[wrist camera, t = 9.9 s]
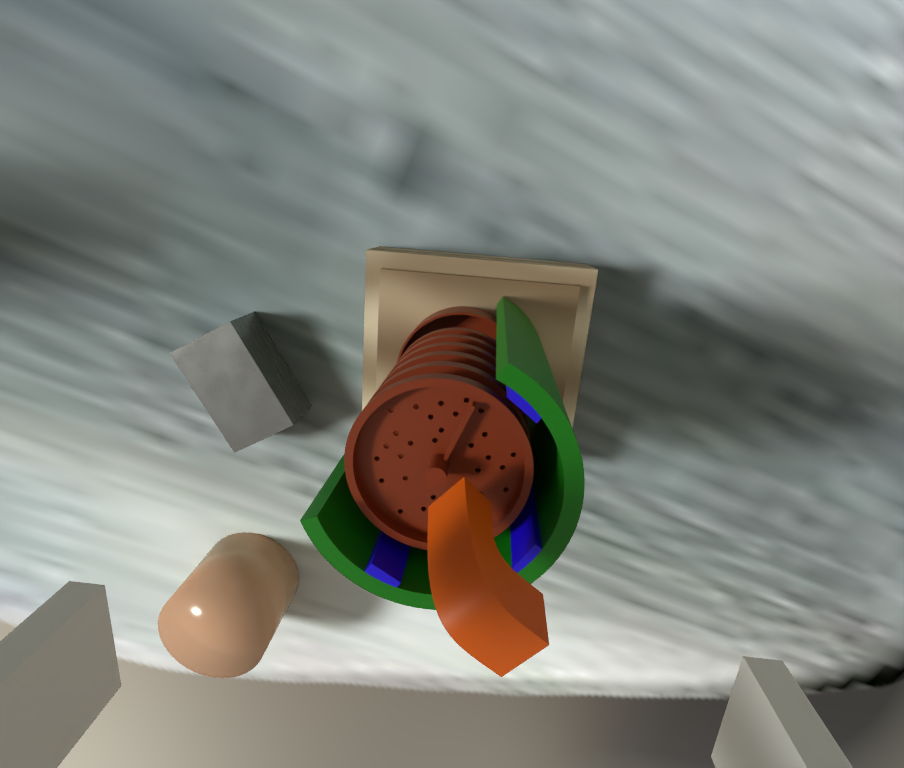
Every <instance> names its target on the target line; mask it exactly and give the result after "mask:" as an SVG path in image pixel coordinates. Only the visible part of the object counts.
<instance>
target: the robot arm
mask: <svg viewBox="0 0 904 768" xmlns="http://www.w3.org/2000/svg"><path fill="white" fill-rule="evenodd" d="M120 687H121V681H120V675H119V669H118V663H117V657H116V651H115V645H114V639H113V633H112V626H111V620H110V614H109V608H108V602H107V596H106V590H105V585H99V584H90V583H81V582H72V581H69V582H68V583H67V584H66V585H64V586H63V587H62V588H61V589H60V590H59V591H58V592H56V593H55V594H54V595H53V596H52V597H51V598H50V599H48V600H47V601H46V602H45V603H44V604H43V605H41V606H40V607H39V608H38V609H37V610H36V611H35V612H33V613H32V614H31V615H30V616H29V617H28V618H27V619H25V620H24V621H23V622H22V623H21V624H20V625H19V626H17V627H16V628H15V629H14V630H13V631H12V632H11V633H9V634H8V635H7V636H6V637H5V638H4V639H3V640H1V641H0V768H57V767H58V766H59V765H60V763H61V762H62V761H63V759H64V758H65V757H66V756H67V754H68V753H69V752H70V750H71V749H72V748H73V747H74V745H75V744H76V743H77V742H78V740H79V739H80V738H81V736H82V735H83V734H84V733H85V731H86V730H87V729H88V728H89V726H90V725H91V724H92V722H93V721H94V720H95V719H96V717H97V716H98V715H99V713H100V712H101V711H102V710H103V708H104V707H105V706H106V705H107V703H108V702H109V700H110V699H111V698H112V697H113V696H114V694H115V693H116V692H117V691H118V689H119V688H120ZM711 757H712V760H713V762H714V765H715V767H716V768H853V767H852V766H851V764H850V763H849V761H848V760H847V758H846V757H845V755H844V754H843V752H842V751H841V749H840V748H839V746H838V744H837V743H836V741H835V740H834V739H833V737H832V735H831V734H830V732H829V731H828V729H827V728H826V726H825V725H824V723H823V722H822V720H821V719H820V717H819V716H818V714H817V713H816V711H815V710H814V708H813V706H812V705H811V703H810V702H809V700H808V699H807V697H806V696H805V694H804V693H803V691H802V690H801V688H800V687H799V685H798V684H797V682H796V681H795V679H794V678H793V676H792V674H791V673H790V671H789V670H788V668H787V667H786V665H785V664H784V662H783V661H781V660H772V659H763V658H754V657H745V656H743V658H742V661H741V664H740V667H739V671H738V674H737V677H736V680H735V683H734V686H733V689H732V692H731V696H730V699H729V702H728V705H727V708H726V711H725V714H724V718H723V721H722V724H721V727H720V730H719V733H718V737H717V740H716V743H715V746H714V749H713V752H712V755H711Z"/></svg>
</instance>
